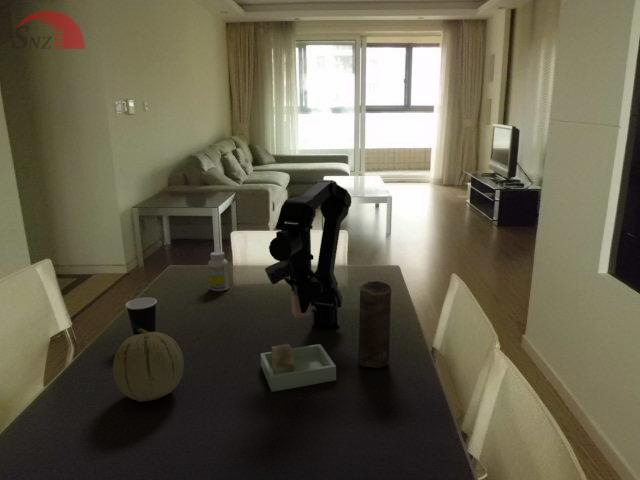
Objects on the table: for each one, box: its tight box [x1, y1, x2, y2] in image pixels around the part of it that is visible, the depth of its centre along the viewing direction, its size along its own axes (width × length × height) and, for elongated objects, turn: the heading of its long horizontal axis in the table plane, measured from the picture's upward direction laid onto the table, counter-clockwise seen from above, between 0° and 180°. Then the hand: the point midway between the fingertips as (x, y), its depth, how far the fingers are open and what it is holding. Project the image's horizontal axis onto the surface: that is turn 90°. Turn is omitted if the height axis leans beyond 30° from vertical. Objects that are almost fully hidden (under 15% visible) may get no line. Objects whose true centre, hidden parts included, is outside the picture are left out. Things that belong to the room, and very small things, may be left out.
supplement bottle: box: [208, 251, 231, 292], centre depth 178 cm, size 7×7×13 cm
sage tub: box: [260, 343, 337, 393], centre depth 121 cm, size 15×12×4 cm
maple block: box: [271, 343, 294, 375], centre depth 119 cm, size 4×4×6 cm
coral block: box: [290, 289, 312, 319], centre depth 130 cm, size 4×4×6 cm
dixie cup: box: [125, 296, 158, 336], centre depth 139 cm, size 8×8×11 cm
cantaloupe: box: [112, 329, 185, 403], centre depth 111 cm, size 15×15×15 cm
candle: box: [357, 280, 392, 370], centre depth 122 cm, size 8×7×20 cm
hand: (301, 309), depth 131 cm, fingers closed on coral block, 4 cm apart
